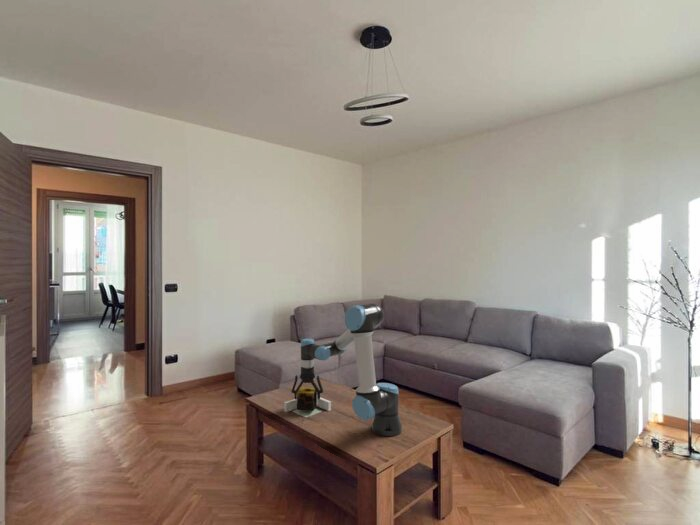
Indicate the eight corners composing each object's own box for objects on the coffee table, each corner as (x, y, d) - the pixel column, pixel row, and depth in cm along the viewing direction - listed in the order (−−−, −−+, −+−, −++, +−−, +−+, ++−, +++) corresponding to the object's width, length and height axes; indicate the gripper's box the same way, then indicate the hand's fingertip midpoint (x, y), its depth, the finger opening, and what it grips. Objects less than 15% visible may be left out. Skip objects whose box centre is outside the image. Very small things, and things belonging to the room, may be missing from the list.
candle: (313, 411, 212) (313, 393, 212) (296, 410, 214) (296, 392, 214) (318, 404, 222) (318, 387, 222) (301, 403, 224) (301, 386, 224)
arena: (331, 410, 220) (331, 401, 220) (303, 420, 206) (303, 411, 206) (311, 401, 233) (311, 393, 233) (284, 411, 219) (284, 402, 219)
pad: (322, 411, 218) (322, 411, 218) (305, 417, 209) (305, 417, 209) (308, 405, 226) (308, 405, 226) (292, 411, 218) (292, 411, 218)
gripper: (328, 364, 221) (328, 402, 222) (288, 364, 221) (288, 402, 222) (327, 368, 214) (327, 407, 214) (286, 368, 214) (286, 407, 214)
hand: (307, 404), depth 218 cm, fingers closed on candle, 11 cm apart
